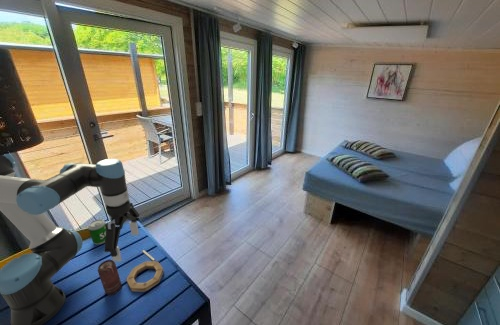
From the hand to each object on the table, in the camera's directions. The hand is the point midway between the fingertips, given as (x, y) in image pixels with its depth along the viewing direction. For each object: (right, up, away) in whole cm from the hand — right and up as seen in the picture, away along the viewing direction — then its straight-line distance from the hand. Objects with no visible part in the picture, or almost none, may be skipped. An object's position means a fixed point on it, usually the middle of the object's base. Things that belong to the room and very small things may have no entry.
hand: (127, 246), depth 84 cm
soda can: (-33, -10, +32) cm, 47 cm away
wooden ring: (+1, -19, +13) cm, 23 cm away
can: (-10, -21, +7) cm, 24 cm away
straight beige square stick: (-3, -14, +24) cm, 28 cm away
